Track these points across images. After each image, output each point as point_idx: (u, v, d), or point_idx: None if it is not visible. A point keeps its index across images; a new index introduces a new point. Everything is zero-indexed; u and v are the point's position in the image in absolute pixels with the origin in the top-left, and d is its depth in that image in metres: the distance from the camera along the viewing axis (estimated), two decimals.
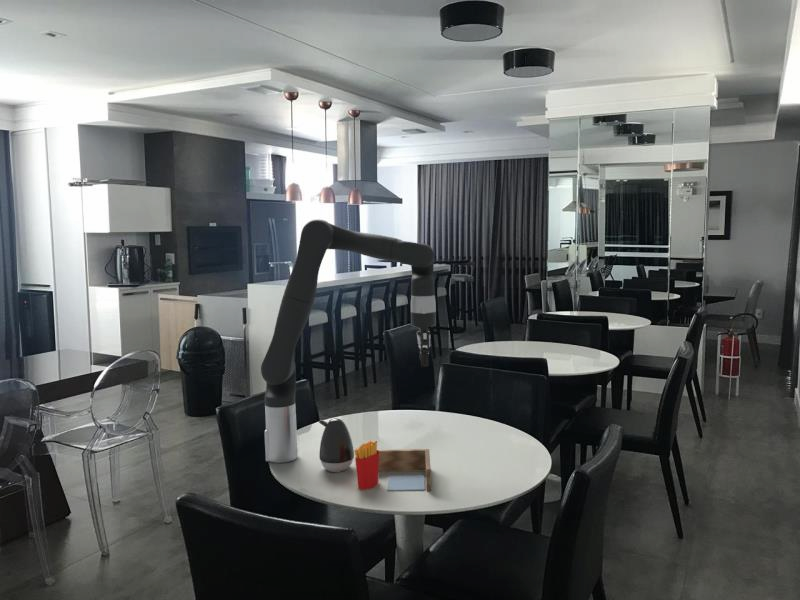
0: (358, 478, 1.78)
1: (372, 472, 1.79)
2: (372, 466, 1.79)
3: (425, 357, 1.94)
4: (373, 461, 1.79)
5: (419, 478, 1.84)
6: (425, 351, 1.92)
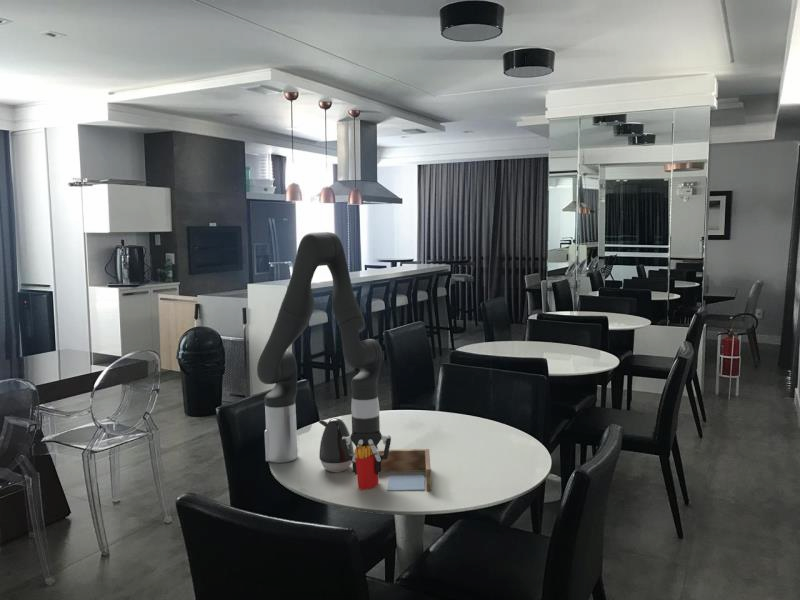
0: (358, 478, 1.78)
1: (372, 472, 1.79)
2: (372, 466, 1.79)
3: (380, 463, 1.80)
4: (373, 461, 1.79)
5: (419, 478, 1.84)
6: None
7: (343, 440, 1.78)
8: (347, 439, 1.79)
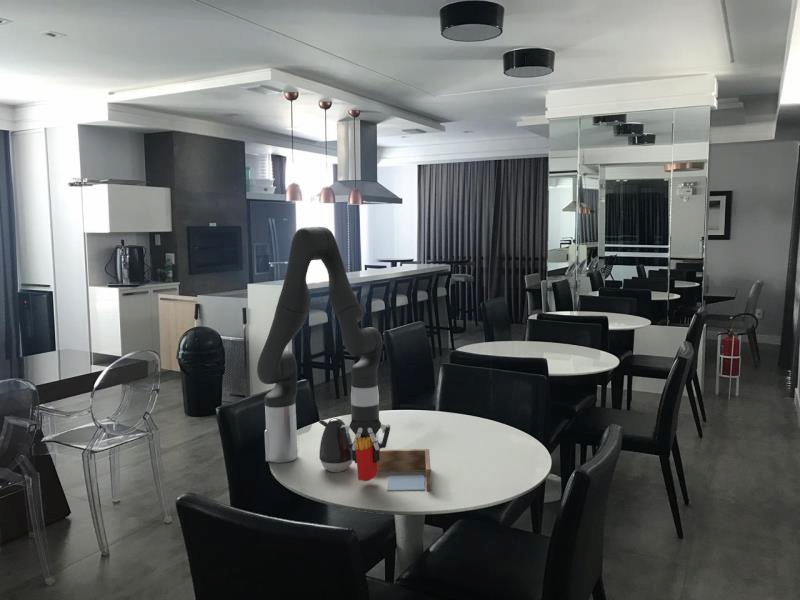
0: (358, 470, 1.78)
1: (372, 463, 1.79)
2: (372, 457, 1.79)
3: (379, 451, 1.80)
4: (372, 452, 1.79)
5: (419, 478, 1.84)
6: None
7: (342, 428, 1.78)
8: (346, 427, 1.79)
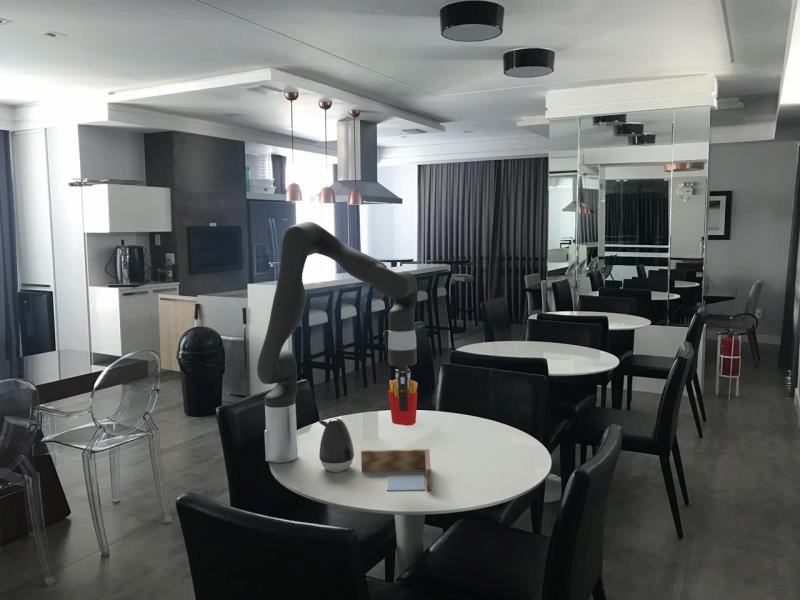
0: (413, 414, 1.77)
1: None
2: None
3: None
4: None
5: (419, 478, 1.84)
6: None
7: (407, 377, 1.72)
8: None
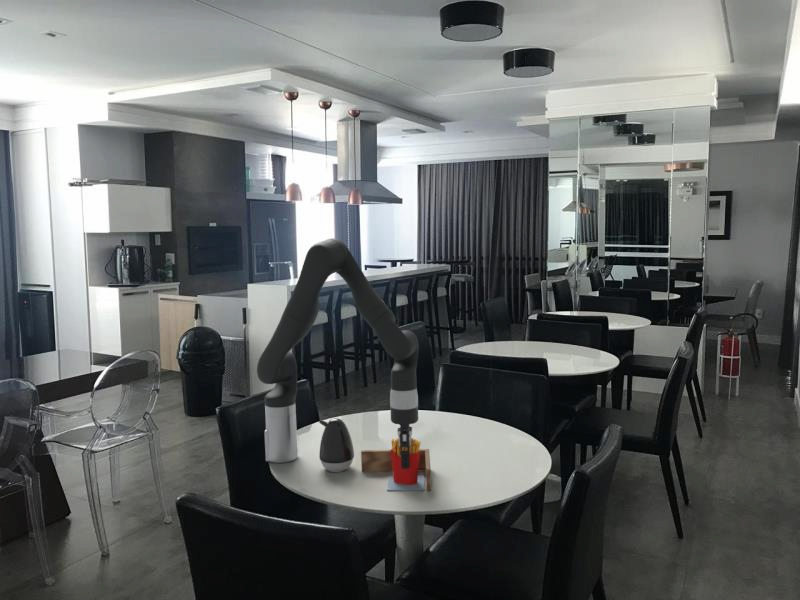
0: (416, 473, 1.80)
1: None
2: None
3: None
4: None
5: (419, 478, 1.84)
6: None
7: (409, 435, 1.74)
8: None
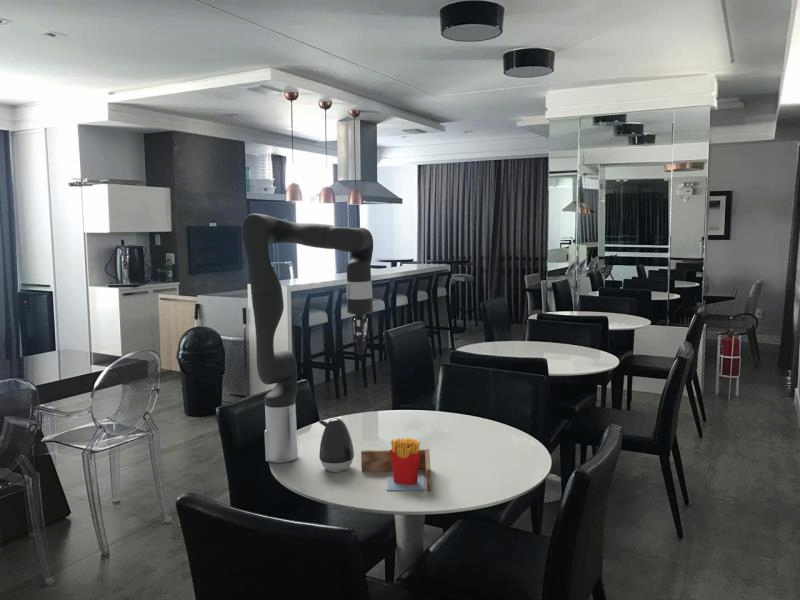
0: (416, 473, 1.80)
1: None
2: None
3: None
4: None
5: (419, 478, 1.84)
6: None
7: (362, 320, 1.87)
8: None
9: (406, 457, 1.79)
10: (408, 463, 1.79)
